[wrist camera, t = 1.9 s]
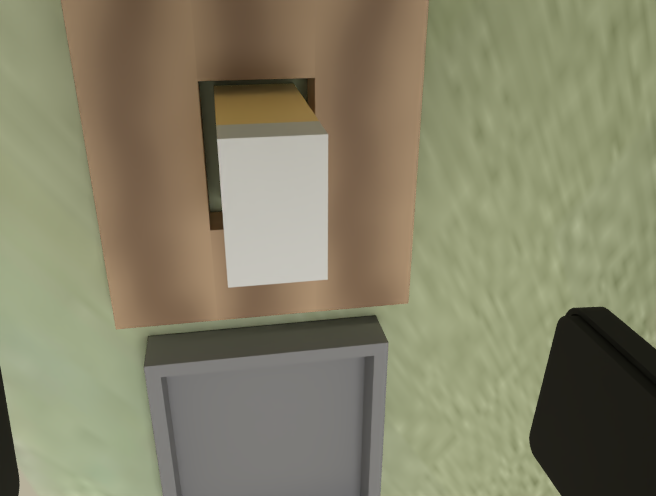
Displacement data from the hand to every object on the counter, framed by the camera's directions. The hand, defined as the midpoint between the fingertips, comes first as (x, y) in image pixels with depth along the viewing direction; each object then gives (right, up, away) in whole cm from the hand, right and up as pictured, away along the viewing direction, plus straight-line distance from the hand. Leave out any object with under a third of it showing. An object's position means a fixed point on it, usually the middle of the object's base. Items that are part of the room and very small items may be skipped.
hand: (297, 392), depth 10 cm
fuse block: (-3, +8, +22) cm, 24 cm away
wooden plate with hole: (-3, +8, +22) cm, 24 cm away
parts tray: (-3, -9, +30) cm, 32 cm away
